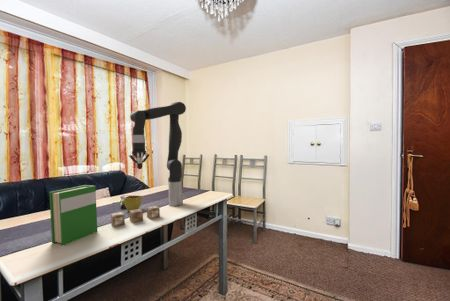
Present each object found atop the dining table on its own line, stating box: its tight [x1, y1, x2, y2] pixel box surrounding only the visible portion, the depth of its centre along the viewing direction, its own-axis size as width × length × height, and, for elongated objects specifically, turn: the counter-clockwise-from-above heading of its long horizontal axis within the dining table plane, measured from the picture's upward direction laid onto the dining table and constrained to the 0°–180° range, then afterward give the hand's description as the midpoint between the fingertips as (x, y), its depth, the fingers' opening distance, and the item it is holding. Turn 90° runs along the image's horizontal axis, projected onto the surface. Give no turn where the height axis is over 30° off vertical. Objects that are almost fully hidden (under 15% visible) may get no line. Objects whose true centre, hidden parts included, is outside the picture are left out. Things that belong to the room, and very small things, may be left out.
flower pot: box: [123, 195, 143, 212], centre depth 156 cm, size 9×9×9 cm
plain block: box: [129, 208, 144, 224], centre depth 134 cm, size 6×6×6 cm
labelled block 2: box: [146, 205, 161, 220], centre depth 139 cm, size 6×6×6 cm
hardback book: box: [48, 184, 98, 246], centre depth 111 cm, size 18×7×24 cm, turn 159°
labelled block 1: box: [110, 211, 126, 228], centre depth 128 cm, size 6×6×6 cm
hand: (139, 169), depth 146 cm, fingers closed
